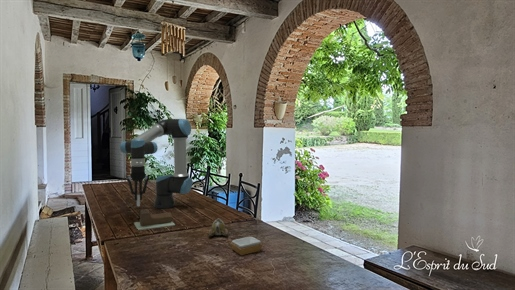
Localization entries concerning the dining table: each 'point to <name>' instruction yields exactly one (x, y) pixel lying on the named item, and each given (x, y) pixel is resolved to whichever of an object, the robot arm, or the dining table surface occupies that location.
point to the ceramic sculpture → (218, 228)
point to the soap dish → (246, 245)
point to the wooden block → (154, 218)
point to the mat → (153, 225)
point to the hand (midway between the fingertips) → (138, 205)
